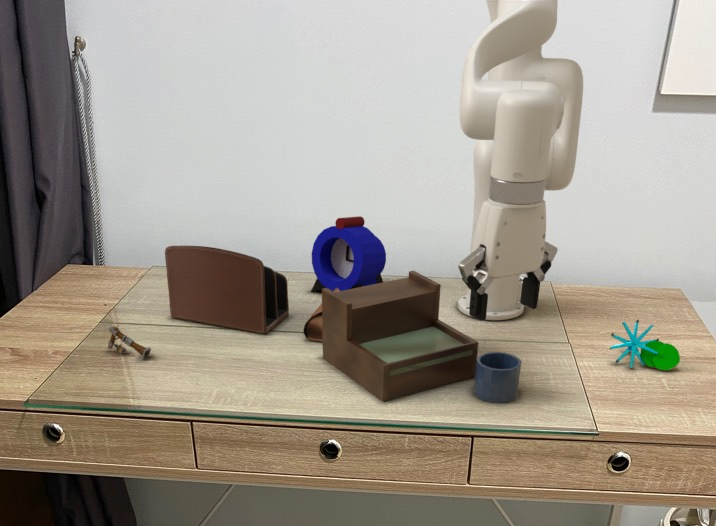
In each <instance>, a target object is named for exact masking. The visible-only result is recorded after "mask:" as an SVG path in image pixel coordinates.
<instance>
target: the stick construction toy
mask: <svg viewBox="0 0 716 526" xmlns="http://www.w3.org/2000/svg"><path fill="white" fill-rule="evenodd" d="M639 322H640V320H639V319H637V320H636V321H635V323H634V328H633V332H632V330H631V329H630V327H629V325H628V324H627V323H626V322H625V321H622V323H621V325H622V326H623V327H624V329H625V332H626V334H627V336H628V338H629V339H627V338H624V337H622V336H619V335H616V334H615V333H614V332H612V333H611V334H610V337H611V338H614V339H615V340H618V341H619V342H621V343H620V344H615V345H612V346H609V348H608V349H609V351H610V350H613V349H615V350H616V349H622V348H626V349H625V350H624V351H623V353H621V355H619V356H618V358H617V359H616V360H615V364H618V363H619V362H620V361H621V360H622V359H623V358H624V357H625V356H626V355H628V354H629V353H630V361H629V362H630V363H629V369H632V368H633V366H634V361H635V357H637V359H638V361H639V362H640V363H641V365H642V367H646V366H647V367H648V368H652V369H656V370H658V371H670V370H672V369H674V368H675V367H677V366H678V365H679V364H680V362H681V356H680V355H681V354H680V352H679V350H678V349H677V347H675V345H673V344H672V343H667V342H666V343H664V342H663V341H660V339H659V338H656V339H649V340H642V339H644V337H645V336H646V335H647V334H648V333H649V332H650V331H651V330H652V328H653V327H654V324H650V326H648V328H646V329H645V330H644V331H643V332H642V333H641V334H640V335H639V336H638V331H639V329H638V328H639ZM639 349H640V350H639Z"/></svg>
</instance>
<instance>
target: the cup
mask: <svg viewBox="0 0 716 526" xmlns="http://www.w3.org/2000/svg"><path fill="white" fill-rule="evenodd" d="M522 364H523V363H522V360H521V358H520V357H518V356H517V355H515V354H511V353H508V352H501V351H490V352H489V351H488V352H485V353H482V354H479V355H478V356H477V363H476V373H475V377H474V384H473V393H474V396H475V397H476V398H478V399H479V400H481V401H483V402H488V403H492V404H493V403H494V404H495V403H496V404H503V403H509V402H512V401H514V400H515V399H516V398H517V397H518V392H519V386H520V378H521V370H522Z"/></svg>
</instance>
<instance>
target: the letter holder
mask: <svg viewBox="0 0 716 526" xmlns="http://www.w3.org/2000/svg"><path fill="white" fill-rule="evenodd" d="M164 259H165V267H166V278H167V289H168V299H169V313H170V317H171V319H176V320H184V321H189V322H193V323H199V324H206V325H210V326H217V327H221V328H227V329H232V330H233V329H234V330H239V331H243V332H248V333H255V334H261V335H267V334H268V333H269V332H270V331H271V330H272V329H273V328H275V327H276V326H278V325H279V324H280V323H281V322H283V321H284V320H285V319H287V318H288V317H289V315H290V313H289V310H290V308H289V307H290V306H289V305H290V304H289V293H288V292H289V290H288V288H289V287H288V279H287V277H286V276H285V275H284V274H283V273H280V272H279V271H278V272H277V271H275V270H274V269H273V268H271V267H269V266H266V265H264V263H263V261H262V260H260V259H259V258H257V257H255V256H251V255H248V254H244V253H241V252H237V251H232V250H228V249H224V248H223V249H222V248H218V247H213V246H203V245H169V246H167V247H165V249H164Z"/></svg>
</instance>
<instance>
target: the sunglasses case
mask: <svg viewBox="0 0 716 526" xmlns="http://www.w3.org/2000/svg"><path fill="white" fill-rule="evenodd" d="M339 291H340V290H339V289H338V288H336V289H335V290H334V291H333V292H339ZM303 335H304V337H305V338H306V339H307V340H308V341H313V342H316V343H317V342H318V343H323V334H322V303H320V305H319V306H318V307H317V308H316V309H315V311H313V313H312V314H311V316H310V317H309V318H308V319H307V321H306V322H305V324H304V326H303Z"/></svg>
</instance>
